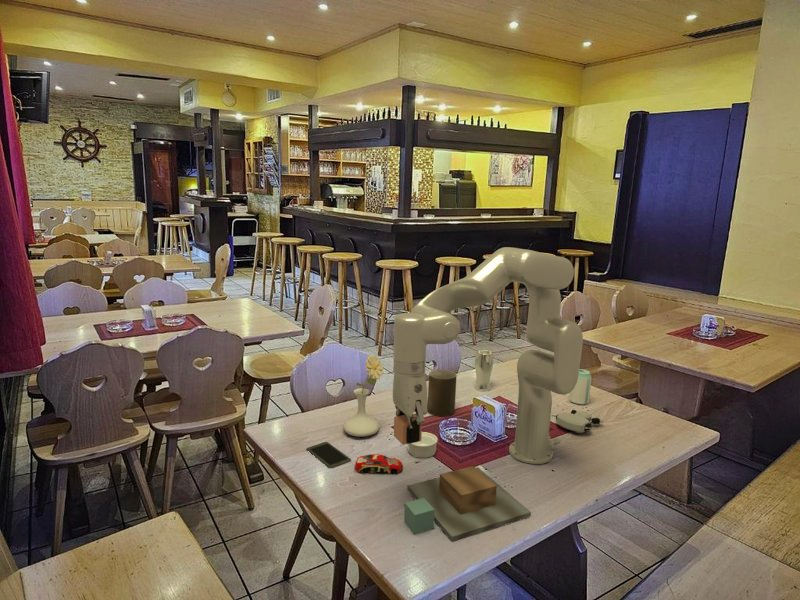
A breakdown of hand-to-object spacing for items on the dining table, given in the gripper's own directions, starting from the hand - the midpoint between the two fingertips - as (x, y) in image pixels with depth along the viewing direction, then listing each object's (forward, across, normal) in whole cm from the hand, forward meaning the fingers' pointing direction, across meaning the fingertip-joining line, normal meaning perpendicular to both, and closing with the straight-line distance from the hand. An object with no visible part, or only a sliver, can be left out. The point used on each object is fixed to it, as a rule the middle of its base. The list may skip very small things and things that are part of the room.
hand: (407, 436), depth 124 cm
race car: (+18, +16, +1) cm, 24 cm away
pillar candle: (+18, +43, -35) cm, 58 cm away
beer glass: (+18, +55, -61) cm, 84 cm away
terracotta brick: (+1, 0, 0) cm, 1 cm away
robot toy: (+18, +15, -71) cm, 75 cm away
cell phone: (+18, +29, +11) cm, 36 cm away
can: (+18, +31, -87) cm, 94 cm away
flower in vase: (+17, +39, -4) cm, 43 cm away
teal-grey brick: (+17, -10, +2) cm, 20 cm away
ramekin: (+18, +20, -15) cm, 30 cm away
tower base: (+17, -7, -13) cm, 23 cm away
